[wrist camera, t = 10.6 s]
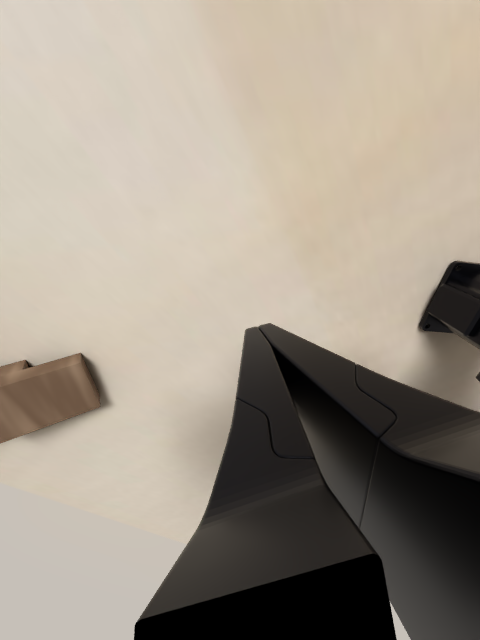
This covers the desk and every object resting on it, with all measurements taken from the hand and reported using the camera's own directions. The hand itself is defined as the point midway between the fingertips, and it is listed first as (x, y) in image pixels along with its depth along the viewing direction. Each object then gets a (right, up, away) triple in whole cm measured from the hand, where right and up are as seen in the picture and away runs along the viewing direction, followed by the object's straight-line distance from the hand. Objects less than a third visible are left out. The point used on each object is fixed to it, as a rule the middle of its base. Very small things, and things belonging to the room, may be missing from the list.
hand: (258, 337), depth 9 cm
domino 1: (-14, -5, +15) cm, 21 cm away
